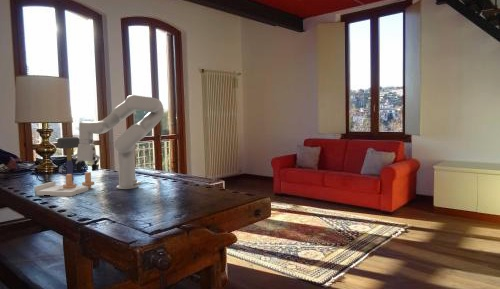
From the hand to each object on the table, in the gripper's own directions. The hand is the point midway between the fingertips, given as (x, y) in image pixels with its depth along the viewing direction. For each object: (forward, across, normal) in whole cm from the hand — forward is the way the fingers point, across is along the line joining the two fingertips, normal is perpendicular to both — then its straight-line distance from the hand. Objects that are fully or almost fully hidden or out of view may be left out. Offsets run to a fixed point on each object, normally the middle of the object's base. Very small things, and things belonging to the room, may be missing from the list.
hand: (86, 170), depth 220 cm
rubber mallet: (+12, +23, -18) cm, 32 cm away
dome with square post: (+11, -1, 0) cm, 11 cm away
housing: (+11, +7, +13) cm, 18 cm away
